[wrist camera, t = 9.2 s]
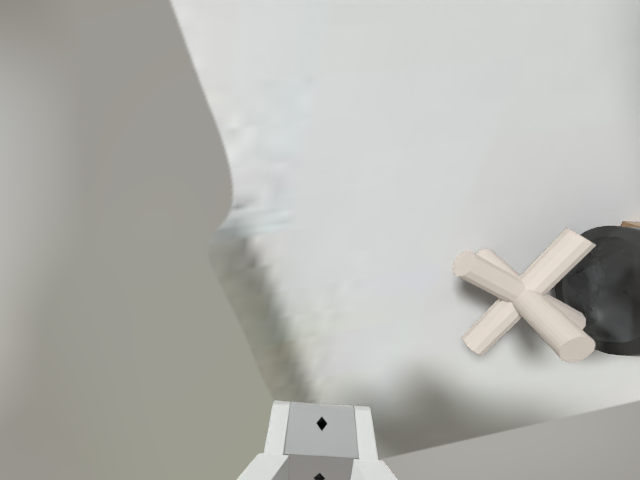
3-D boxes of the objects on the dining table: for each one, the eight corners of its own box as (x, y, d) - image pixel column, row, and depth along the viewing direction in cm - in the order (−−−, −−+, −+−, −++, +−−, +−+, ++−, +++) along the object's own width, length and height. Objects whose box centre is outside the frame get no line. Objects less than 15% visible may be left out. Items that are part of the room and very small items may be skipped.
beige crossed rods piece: (573, 236, 25) (723, 319, 16) (488, 323, 28) (569, 431, 19) (478, 177, 22) (588, 232, 13) (399, 279, 26) (443, 377, 17)
